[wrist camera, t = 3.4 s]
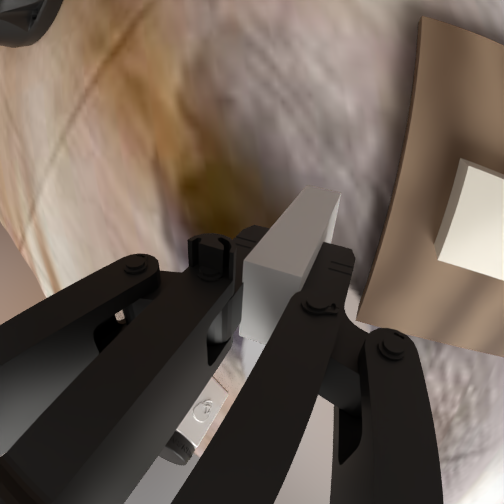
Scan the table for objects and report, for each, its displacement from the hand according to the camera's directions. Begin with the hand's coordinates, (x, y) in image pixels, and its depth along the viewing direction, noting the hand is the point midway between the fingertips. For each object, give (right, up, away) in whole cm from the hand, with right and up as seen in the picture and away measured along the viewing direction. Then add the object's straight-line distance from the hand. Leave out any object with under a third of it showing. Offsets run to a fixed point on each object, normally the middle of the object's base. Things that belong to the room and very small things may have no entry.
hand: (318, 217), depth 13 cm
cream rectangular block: (+13, 0, +2) cm, 13 cm away
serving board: (+14, +1, +3) cm, 14 cm away
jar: (-10, -20, +28) cm, 36 cm away
